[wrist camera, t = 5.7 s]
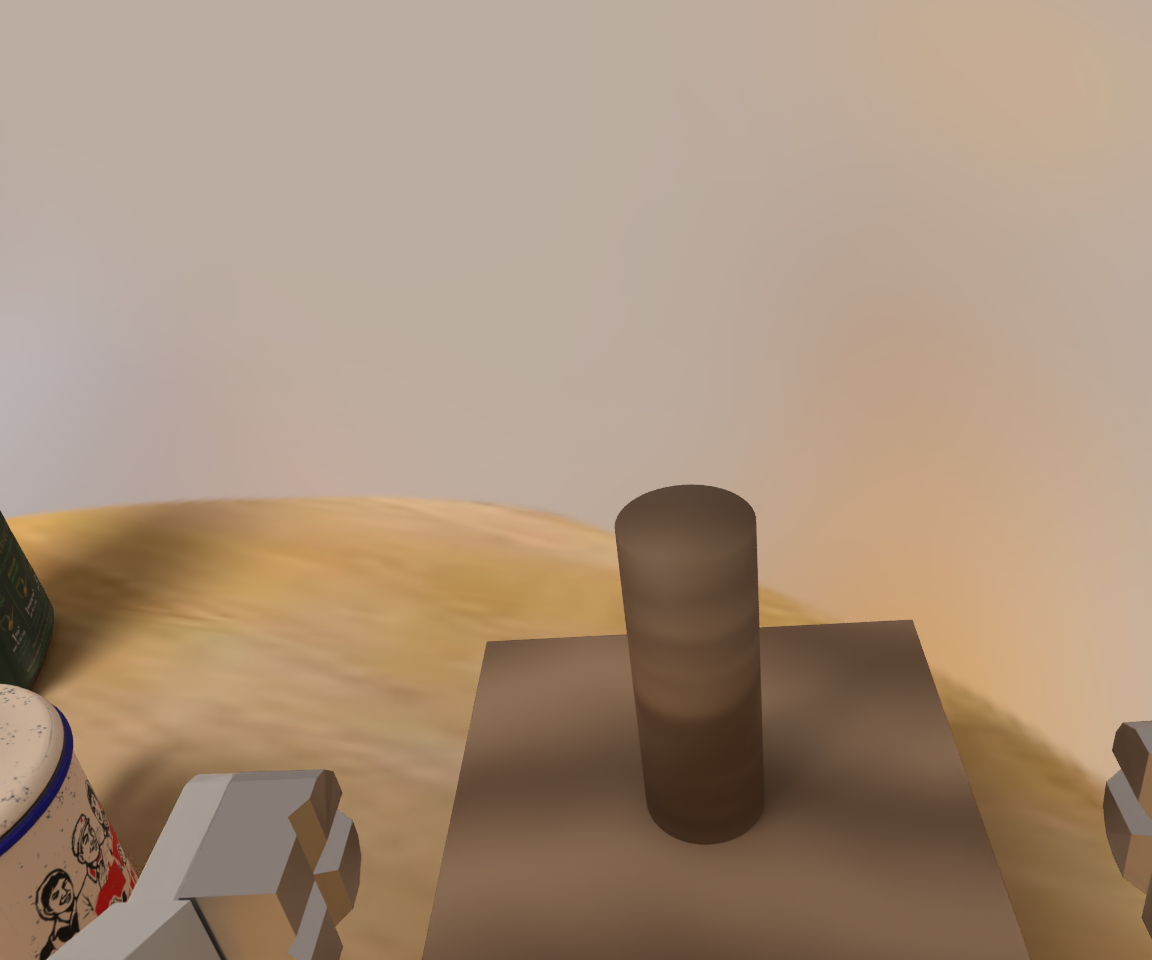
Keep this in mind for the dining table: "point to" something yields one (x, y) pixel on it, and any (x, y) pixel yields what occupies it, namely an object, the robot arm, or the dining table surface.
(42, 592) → the coffee jar
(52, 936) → the teacup with lid
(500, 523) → the dining table surface
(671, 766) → the walnut cover
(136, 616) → the dining table surface
